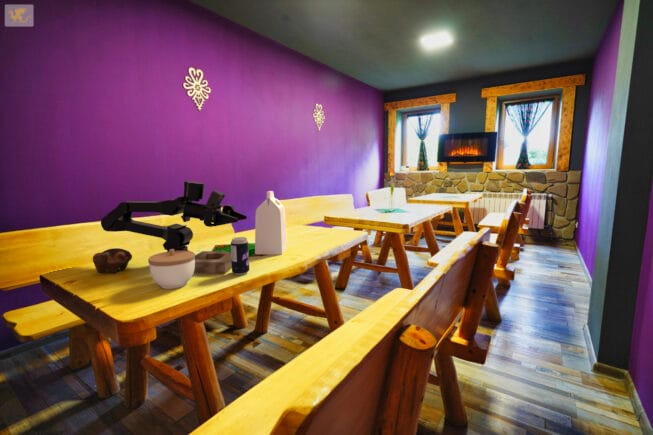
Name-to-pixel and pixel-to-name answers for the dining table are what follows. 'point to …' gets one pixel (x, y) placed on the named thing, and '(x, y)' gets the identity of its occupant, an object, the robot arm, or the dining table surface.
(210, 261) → the socket
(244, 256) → the beverage can
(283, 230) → the milk
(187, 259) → the lidded bowl
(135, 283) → the dining table surface
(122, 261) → the dark brown rounded lump
